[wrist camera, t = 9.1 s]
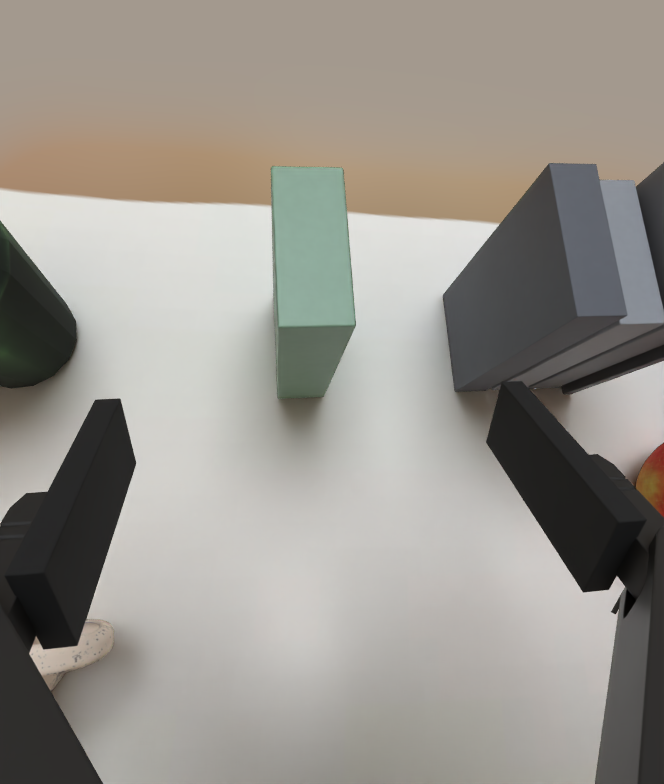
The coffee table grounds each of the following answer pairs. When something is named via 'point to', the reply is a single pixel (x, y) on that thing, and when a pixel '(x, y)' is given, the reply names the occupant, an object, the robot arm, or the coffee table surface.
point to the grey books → (563, 286)
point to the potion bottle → (30, 320)
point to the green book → (310, 277)
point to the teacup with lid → (74, 652)
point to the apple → (653, 479)
